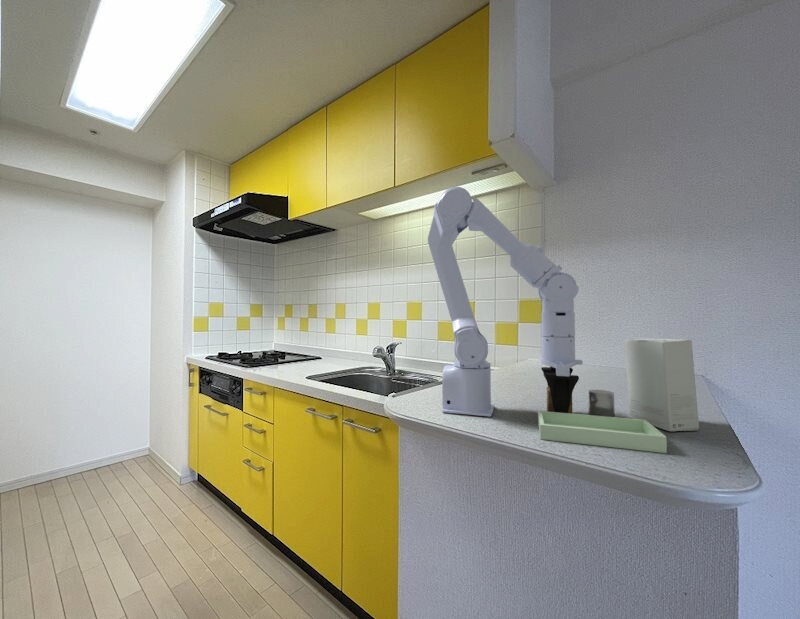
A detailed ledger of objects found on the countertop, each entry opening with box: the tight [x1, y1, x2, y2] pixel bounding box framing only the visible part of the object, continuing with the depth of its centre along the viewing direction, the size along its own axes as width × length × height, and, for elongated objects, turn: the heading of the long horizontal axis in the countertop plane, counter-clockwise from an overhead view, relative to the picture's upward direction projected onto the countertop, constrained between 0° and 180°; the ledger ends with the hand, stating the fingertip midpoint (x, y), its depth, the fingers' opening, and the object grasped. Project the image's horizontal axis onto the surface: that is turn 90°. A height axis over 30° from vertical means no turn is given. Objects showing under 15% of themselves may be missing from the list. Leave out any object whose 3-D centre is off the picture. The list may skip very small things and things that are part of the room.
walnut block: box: [546, 386, 574, 414], centre depth 63 cm, size 4×4×5 cm
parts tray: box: [537, 410, 668, 454], centre depth 52 cm, size 16×8×2 cm, turn 70°
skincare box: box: [624, 337, 700, 432], centre depth 58 cm, size 8×6×15 cm
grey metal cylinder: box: [588, 389, 616, 417], centre depth 60 cm, size 4×4×5 cm
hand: (559, 408), depth 63 cm, fingers open, 5 cm apart
